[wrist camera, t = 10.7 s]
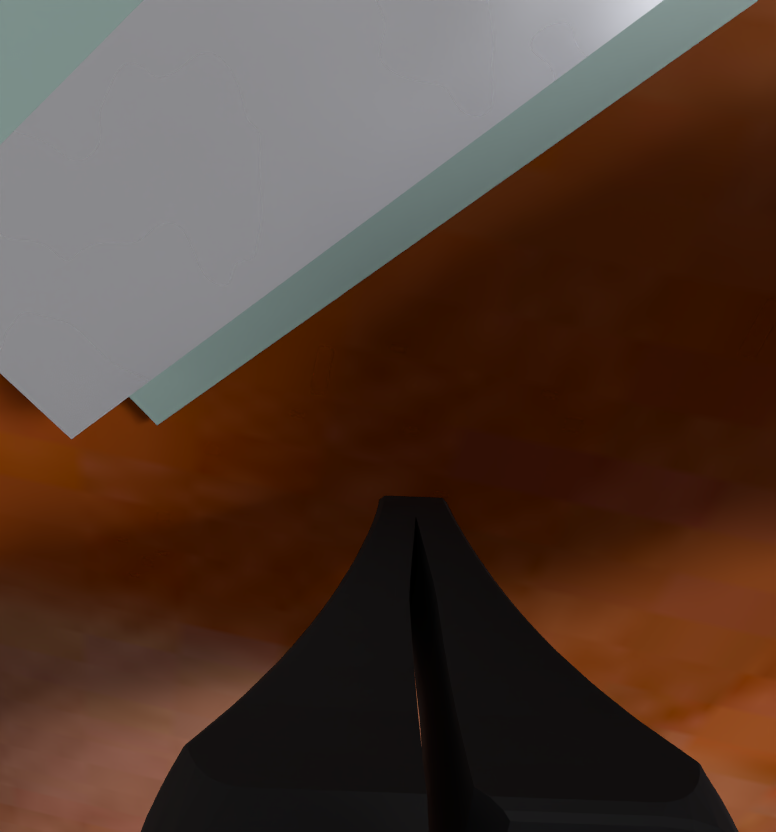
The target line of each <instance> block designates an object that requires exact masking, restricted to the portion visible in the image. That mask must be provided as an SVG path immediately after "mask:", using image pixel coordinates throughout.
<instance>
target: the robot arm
mask: <svg viewBox="0 0 776 832" xmlns="http://www.w3.org/2000/svg"><path fill="white" fill-rule="evenodd" d="M414 672H415V675H414ZM415 681H416V686H415ZM416 690H417V697H416ZM417 698H418V707H419V716H420V728H421V738H420V729H419V719H418V709H417ZM421 742H422V747H421ZM141 832H738V830H737V828H736V826H735V824H734V822H733V820H732V818H731V816H730V814H729V812H728V811H727V809H726V807H725V805H724V803H723V801H722V800H721V798H720V796H719V795H718V793H717V791H716V790H715V788H714V787H713V785H712V784H711V782H710V780H709V779H708V777H707V776H706V774H705V772H704V770H703V769H702V767H701V765H700V764H699V763H698V762H697V761H695V760H694V759H693V758H691V757H690V756H688V755H687V754H686V753H684V752H683V751H681V750H680V749H678V748H677V747H676V746H674V745H673V744H671V743H670V742H668V741H667V740H666V739H664V738H663V737H661V736H660V735H659V734H657V733H656V732H654V731H653V730H651V729H650V728H649V727H647V726H646V725H644V724H643V723H641V722H640V721H639V720H637V719H636V718H635V717H633V716H632V715H631V714H629V713H628V712H627V711H626V710H624V709H623V708H622V707H621V706H619V705H618V704H617V703H616V702H614V701H613V700H612V699H611V698H609V697H608V696H607V695H606V694H604V693H603V692H602V691H601V690H599V689H598V688H597V687H596V686H595V685H594V684H592V683H591V682H590V681H589V680H588V679H587V678H586V677H584V676H583V675H582V674H581V673H580V672H579V671H578V670H577V669H576V668H575V667H573V666H572V665H571V664H570V663H569V662H568V661H567V660H566V659H565V658H564V657H562V656H561V655H560V654H559V653H558V652H557V651H556V650H555V649H554V648H553V647H552V646H551V645H550V644H549V643H548V642H547V641H546V640H545V639H544V638H543V637H542V636H541V635H540V634H539V633H538V632H537V631H536V629H535V628H534V627H533V626H532V625H531V624H530V623H529V622H528V621H527V620H526V618H525V617H524V616H523V615H522V614H521V613H520V612H519V610H518V609H517V608H516V607H515V606H514V604H513V603H512V602H511V601H510V600H509V598H508V597H507V596H506V595H505V593H504V592H503V591H502V589H501V588H500V587H499V586H498V584H497V583H496V582H495V580H494V579H493V578H492V576H491V575H490V573H489V572H488V571H487V569H486V568H485V566H484V565H483V563H482V562H481V561H480V559H479V558H478V556H477V555H476V553H475V552H474V550H473V549H472V547H471V546H470V544H469V542H468V541H467V539H466V537H465V536H464V534H463V532H462V531H461V529H460V527H459V526H458V524H457V522H456V520H455V518H454V516H453V515H452V513H451V511H450V509H449V507H448V504H447V502H446V501H445V500H444V499H443V498H433V497H408V496H384V497H382V498H381V499H380V500H379V504H378V509H377V512H376V515H375V518H374V521H373V523H372V526H371V528H370V530H369V533H368V535H367V537H366V539H365V541H364V543H363V545H362V547H361V549H360V551H359V553H358V554H357V556H356V558H355V560H354V562H353V564H352V565H351V567H350V568H349V570H348V572H347V573H346V575H345V576H344V578H343V580H342V581H341V583H340V585H339V586H338V588H337V589H336V591H335V592H334V594H333V595H332V597H331V598H330V599H329V601H328V602H327V604H326V605H325V606H324V608H323V609H322V610H321V612H320V613H319V614H318V616H317V617H316V618H315V620H314V621H313V622H312V623H311V625H310V626H309V627H308V628H307V629H306V631H305V632H304V633H303V634H302V635H301V636H300V638H299V639H298V640H297V641H296V642H295V644H294V645H293V646H292V647H291V648H290V649H289V650H288V651H287V653H286V654H285V655H284V656H283V657H282V658H281V659H280V660H279V661H278V662H277V663H276V664H275V665H274V666H273V667H272V668H271V669H270V670H269V671H268V672H267V673H266V674H265V675H264V676H263V677H262V678H261V679H260V680H259V681H258V682H257V683H256V684H255V685H254V686H253V687H252V688H251V689H250V690H249V691H248V692H247V693H246V694H245V695H244V696H243V697H241V698H240V699H239V700H238V701H237V702H236V703H235V704H234V705H233V706H231V707H230V708H229V709H228V710H227V711H225V712H224V713H223V714H222V715H221V716H219V717H218V718H217V719H216V720H215V721H213V722H212V723H211V724H210V725H209V726H207V727H206V728H205V729H204V730H203V731H202V732H200V733H199V734H198V735H197V736H196V737H194V738H193V739H192V740H191V741H189V742H188V743H187V744H186V745H185V746H184V747H183V749H182V751H181V752H180V754H179V756H178V757H177V759H176V761H175V763H174V764H173V766H172V768H171V770H170V771H169V773H168V775H167V777H166V779H165V781H164V783H163V784H162V786H161V788H160V790H159V792H158V794H157V796H156V798H155V800H154V803H153V805H152V807H151V809H150V811H149V813H148V815H147V817H146V820H145V822H144V825H143V827H142V830H141Z"/></svg>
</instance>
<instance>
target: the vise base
mask: <svg viewBox="0 0 776 832" xmlns="http://www.w3.org/2000/svg"><path fill="white" fill-rule="evenodd" d="M142 1H143V0H0V144H1V143H2V142H3V141H4V140H5V139H6V138H7V137H8V136H9V135H10V134H11V133H12V132H13V131H14V130H15V129H16V128H17V127H18V126H19V125H20V124H21V123H22V122H23V121H24V120H25V119H26V118H27V117H28V116H29V115H30V114H31V113H32V112H33V111H34V110H35V109H36V108H37V107H38V106H39V105H40V104H41V103H42V102H43V101H44V100H45V99H46V98H47V97H48V96H49V95H50V94H51V93H52V92H53V91H54V90H55V89H56V88H57V87H58V86H59V85H60V84H61V83H62V82H63V81H64V80H65V79H66V78H67V77H68V76H69V75H70V74H71V73H72V72H73V71H74V70H75V69H76V68H77V67H78V66H79V65H80V64H81V63H82V62H83V61H84V60H85V59H86V58H87V57H88V56H89V55H90V54H91V53H92V52H93V51H94V50H95V49H96V48H97V47H98V46H99V45H100V44H101V43H102V42H103V41H104V40H105V39H106V38H107V37H108V36H109V35H110V34H111V33H112V32H113V31H114V30H115V29H116V28H117V27H118V26H119V25H120V23H121V22H122V21H123V20H124V19H125V18H126V17H127V16H128V15H129V14H130V13H131V12H132V11H133V10H134V9H135V8H136V7H137V6H138V5H139V4H140V3H141V2H142ZM757 1H758V0H663V1H662V2H661V3H659V4H658V5H657V6H655V7H654V8H653V9H651V10H650V11H649V12H647V13H646V14H644V15H643V16H642V17H640V18H639V19H638V20H636V21H635V22H634V23H632V24H631V25H630V26H628V27H627V28H626V29H624V30H623V31H622V32H620V33H619V34H617V35H616V36H615V37H613V38H612V39H611V40H609V41H608V42H607V43H605V44H604V45H603V46H601V47H600V48H599V49H597V50H596V51H595V52H593V53H592V54H590V55H589V56H588V57H586V58H585V59H584V60H582V61H581V62H580V63H578V64H577V65H576V66H574V67H573V68H572V69H570V70H569V71H568V72H566V73H565V74H564V75H562V76H561V77H559V78H558V79H557V80H555V81H554V82H553V83H551V84H550V85H549V86H547V87H546V88H545V89H543V90H542V91H541V92H539V93H538V94H537V95H535V96H534V97H532V98H531V99H530V100H528V101H527V102H526V103H524V104H523V105H522V106H520V107H519V108H518V109H516V110H515V111H514V112H512V113H511V114H510V115H508V116H507V117H505V118H504V119H503V120H501V121H500V122H499V123H497V124H496V125H495V126H493V127H492V128H491V129H489V130H488V131H487V132H485V133H484V134H483V135H481V136H480V137H478V138H477V139H476V140H474V141H473V142H472V143H470V144H469V145H468V146H466V147H465V148H464V149H462V150H461V151H460V152H458V153H457V154H456V155H454V156H453V157H452V158H450V159H449V160H447V161H446V162H445V163H443V164H442V165H441V166H439V167H438V168H437V169H435V170H434V171H433V172H431V173H430V174H429V175H427V176H426V177H425V178H423V179H422V180H420V181H419V182H418V183H416V184H415V185H414V186H412V187H411V188H410V189H408V190H407V191H406V192H404V193H403V194H402V195H400V196H399V197H398V198H396V199H395V200H393V201H392V202H391V203H389V204H388V205H387V206H385V207H384V208H383V209H381V210H380V211H379V212H377V213H376V214H375V215H373V216H372V217H371V218H369V219H368V220H367V221H365V222H364V223H362V224H361V225H360V226H358V227H357V228H356V229H354V230H353V231H352V232H350V233H349V234H348V235H346V236H345V237H344V238H342V239H341V240H340V241H338V242H337V243H335V244H334V245H333V246H331V247H330V248H329V249H327V250H326V251H325V252H323V253H322V254H321V255H319V256H318V257H317V258H315V259H314V260H313V261H311V262H310V263H308V264H307V265H306V266H304V267H303V268H302V269H300V270H299V271H298V272H296V273H295V274H294V275H292V276H291V277H290V278H288V279H287V280H286V281H284V282H283V283H281V284H280V285H279V286H277V287H276V288H275V289H273V290H272V291H271V292H269V293H268V294H267V295H265V296H264V297H263V298H261V299H260V300H259V301H257V302H256V303H255V304H253V305H252V306H250V307H249V308H248V309H246V310H245V311H244V312H242V313H241V314H240V315H238V316H237V317H236V318H234V319H233V320H232V321H230V322H229V323H228V324H226V325H225V326H223V327H222V328H221V329H219V330H218V331H217V332H215V333H214V334H213V335H211V336H210V337H209V338H207V339H206V340H205V341H203V342H202V343H201V344H199V345H198V346H196V347H195V348H194V349H192V350H191V351H190V352H188V353H187V354H186V355H184V356H183V357H182V358H180V359H179V360H178V361H176V362H175V363H174V364H172V365H171V366H170V367H168V368H167V369H165V370H164V371H163V372H161V373H160V374H159V375H157V376H156V377H155V378H153V379H152V380H151V381H149V382H148V383H147V384H145V385H144V386H143V387H141V388H140V389H138V390H137V391H136V392H134V393H133V394H132V395H130V396H129V397H130V398H131V399H132V400H133V401H134V402H135V403H136V404H137V405H138V406H139V407H140V408H141V409H142V410H143V411H144V412H145V413H146V414H147V415H148V416H149V417H150V419H151V420H152V421H153V422H154V423H155V424H156V425H158V424H160V423H161V422H163V421H164V420H165V419H167V418H168V417H170V416H171V415H172V414H174V413H175V412H177V411H178V410H180V409H181V408H182V407H184V406H185V405H187V404H188V403H189V402H191V401H192V400H194V399H195V398H196V397H198V396H199V395H201V394H202V393H204V392H205V391H206V390H208V389H209V388H211V387H212V386H213V385H215V384H216V383H218V382H219V381H221V380H222V379H223V378H225V377H226V376H228V375H229V374H230V373H232V372H233V371H235V370H236V369H237V368H239V367H240V366H242V365H243V364H245V363H246V362H247V361H249V360H250V359H252V358H253V357H254V356H256V355H257V354H259V353H260V352H262V351H263V350H264V349H266V348H267V347H269V346H270V345H271V344H273V343H274V342H276V341H277V340H279V339H280V338H281V337H283V336H284V335H286V334H287V333H288V332H290V331H291V330H293V329H294V328H295V327H297V326H298V325H300V324H301V323H303V322H304V321H305V320H307V319H308V318H310V317H311V316H312V315H314V314H315V313H317V312H318V311H320V310H321V309H322V308H324V307H325V306H327V305H328V304H329V303H331V302H332V301H334V300H335V299H336V298H338V297H339V296H341V295H342V294H344V293H345V292H346V291H348V290H349V289H351V288H352V287H353V286H355V285H356V284H358V283H359V282H361V281H362V280H363V279H365V278H366V277H368V276H369V275H370V274H372V273H373V272H375V271H376V270H377V269H379V268H380V267H382V266H383V265H385V264H386V263H387V262H389V261H390V260H392V259H393V258H394V257H396V256H397V255H399V254H400V253H402V252H403V251H404V250H406V249H407V248H409V247H410V246H411V245H413V244H414V243H416V242H417V241H419V240H420V239H421V238H423V237H424V236H426V235H427V234H428V233H430V232H431V231H433V230H434V229H435V228H437V227H438V226H440V225H441V224H443V223H444V222H445V221H447V220H448V219H450V218H451V217H452V216H454V215H455V214H457V213H458V212H460V211H461V210H462V209H464V208H465V207H467V206H468V205H469V204H471V203H472V202H474V201H475V200H476V199H478V198H479V197H481V196H482V195H484V194H485V193H486V192H488V191H489V190H491V189H492V188H493V187H495V186H496V185H498V184H499V183H501V182H502V181H503V180H505V179H506V178H508V177H509V176H510V175H512V174H513V173H515V172H516V171H518V170H519V169H520V168H522V167H523V166H525V165H526V164H527V163H529V162H530V161H532V160H533V159H534V158H536V157H537V156H539V155H540V154H542V153H543V152H544V151H546V150H547V149H549V148H550V147H551V146H553V145H554V144H556V143H557V142H559V141H560V140H561V139H563V138H564V137H566V136H567V135H568V134H570V133H571V132H573V131H574V130H575V129H577V128H578V127H580V126H581V125H583V124H584V123H585V122H587V121H588V120H590V119H591V118H592V117H594V116H595V115H597V114H598V113H600V112H601V111H602V110H604V109H605V108H607V107H608V106H609V105H611V104H612V103H614V102H615V101H616V100H618V99H619V98H621V97H622V96H624V95H625V94H626V93H628V92H629V91H631V90H632V89H633V88H635V87H636V86H638V85H639V84H641V83H642V82H643V81H645V80H646V79H648V78H649V77H650V76H652V75H653V74H655V73H656V72H658V71H659V70H660V69H662V68H663V67H665V66H666V65H667V64H669V63H670V62H672V61H673V60H674V59H676V58H677V57H679V56H680V55H682V54H683V53H684V52H686V51H687V50H689V49H690V48H691V47H693V46H694V45H696V44H697V43H699V42H700V41H701V40H703V39H704V38H706V37H707V36H708V35H710V34H711V33H713V32H714V31H715V30H717V29H718V28H720V27H721V26H723V25H724V24H725V23H727V22H728V21H730V20H731V19H732V18H734V17H735V16H737V15H738V14H740V13H741V12H742V11H744V10H745V9H747V8H748V7H749V6H751V5H752V4H754V3H755V2H757Z"/></svg>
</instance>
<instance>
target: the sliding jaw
mask: <svg viewBox="0 0 776 832" xmlns="http://www.w3.org/2000/svg"><path fill="white" fill-rule="evenodd" d="M662 1H663V0H143V1H142V2H141V3H140V4H139V5H138V6H137V7H136V8H135V9H134V10H133V11H132V12H131V13H130V14H129V15H128V16H127V17H126V18H125V19H124V20H123V21H122V22H121V23H120V25H119V26H118V27H117V28H116V29H115V30H114V31H113V32H112V33H111V34H110V35H109V36H108V37H107V38H106V39H105V40H104V41H103V42H102V43H101V44H100V45H99V46H98V47H97V48H96V49H95V50H94V51H93V52H92V53H91V54H90V55H89V56H88V57H87V58H86V59H85V60H84V61H83V62H82V63H81V64H80V65H79V66H78V67H77V68H76V69H75V70H74V71H73V72H72V73H71V74H70V75H69V76H68V77H67V78H66V79H65V80H64V81H63V82H62V83H61V84H60V85H59V86H58V87H57V88H56V89H55V90H54V91H53V92H52V93H51V94H50V95H49V96H48V97H47V98H46V99H45V100H44V101H43V102H42V103H41V104H40V105H39V106H38V107H37V108H36V109H35V110H34V111H33V112H32V113H31V114H30V115H29V116H28V117H27V118H26V119H25V120H24V121H23V122H22V123H21V124H20V125H19V126H18V127H17V128H16V129H15V130H14V131H13V132H12V133H11V134H10V135H9V136H8V137H7V138H6V139H5V140H4V141H3V142H2V143H1V144H0V374H2V375H3V376H4V377H5V378H6V379H7V380H8V381H9V382H10V383H11V384H12V385H13V386H15V387H16V388H17V389H18V390H19V391H20V392H21V393H22V394H23V395H24V396H25V397H26V398H27V399H29V400H30V401H31V402H32V403H33V404H34V405H35V406H36V407H37V408H38V409H39V410H40V411H42V412H43V413H44V414H45V415H46V416H47V417H48V418H49V419H50V420H51V421H52V422H53V423H55V424H56V425H57V426H58V427H59V428H60V429H61V430H62V431H63V432H64V433H65V434H66V435H67V436H69V437H70V438H71V439H72V438H74V437H75V436H76V435H78V434H79V433H80V432H82V431H83V430H84V429H86V428H87V427H89V426H90V425H91V424H93V423H94V422H95V421H97V420H98V419H99V418H101V417H102V416H103V415H105V414H106V413H107V412H109V411H110V410H111V409H113V408H114V407H116V406H117V405H118V404H120V403H121V402H122V401H124V400H125V399H126V398H128V397H129V396H130V395H132V394H133V393H134V392H136V391H137V390H138V389H140V388H141V387H143V386H144V385H145V384H147V383H148V382H149V381H151V380H152V379H153V378H155V377H156V376H157V375H159V374H160V373H161V372H163V371H164V370H165V369H167V368H168V367H170V366H171V365H172V364H174V363H175V362H176V361H178V360H179V359H180V358H182V357H183V356H184V355H186V354H187V353H188V352H190V351H191V350H192V349H194V348H195V347H196V346H198V345H199V344H201V343H202V342H203V341H205V340H206V339H207V338H209V337H210V336H211V335H213V334H214V333H215V332H217V331H218V330H219V329H221V328H222V327H223V326H225V325H226V324H228V323H229V322H230V321H232V320H233V319H234V318H236V317H237V316H238V315H240V314H241V313H242V312H244V311H245V310H246V309H248V308H249V307H250V306H252V305H253V304H255V303H256V302H257V301H259V300H260V299H261V298H263V297H264V296H265V295H267V294H268V293H269V292H271V291H272V290H273V289H275V288H276V287H277V286H279V285H280V284H281V283H283V282H284V281H286V280H287V279H288V278H290V277H291V276H292V275H294V274H295V273H296V272H298V271H299V270H300V269H302V268H303V267H304V266H306V265H307V264H308V263H310V262H311V261H313V260H314V259H315V258H317V257H318V256H319V255H321V254H322V253H323V252H325V251H326V250H327V249H329V248H330V247H331V246H333V245H334V244H335V243H337V242H338V241H340V240H341V239H342V238H344V237H345V236H346V235H348V234H349V233H350V232H352V231H353V230H354V229H356V228H357V227H358V226H360V225H361V224H362V223H364V222H365V221H367V220H368V219H369V218H371V217H372V216H373V215H375V214H376V213H377V212H379V211H380V210H381V209H383V208H384V207H385V206H387V205H388V204H389V203H391V202H392V201H393V200H395V199H396V198H398V197H399V196H400V195H402V194H403V193H404V192H406V191H407V190H408V189H410V188H411V187H412V186H414V185H415V184H416V183H418V182H419V181H420V180H422V179H423V178H425V177H426V176H427V175H429V174H430V173H431V172H433V171H434V170H435V169H437V168H438V167H439V166H441V165H442V164H443V163H445V162H446V161H447V160H449V159H450V158H452V157H453V156H454V155H456V154H457V153H458V152H460V151H461V150H462V149H464V148H465V147H466V146H468V145H469V144H470V143H472V142H473V141H474V140H476V139H477V138H478V137H480V136H481V135H483V134H484V133H485V132H487V131H488V130H489V129H491V128H492V127H493V126H495V125H496V124H497V123H499V122H500V121H501V120H503V119H504V118H505V117H507V116H508V115H510V114H511V113H512V112H514V111H515V110H516V109H518V108H519V107H520V106H522V105H523V104H524V103H526V102H527V101H528V100H530V99H531V98H532V97H534V96H535V95H537V94H538V93H539V92H541V91H542V90H543V89H545V88H546V87H547V86H549V85H550V84H551V83H553V82H554V81H555V80H557V79H558V78H559V77H561V76H562V75H564V74H565V73H566V72H568V71H569V70H570V69H572V68H573V67H574V66H576V65H577V64H578V63H580V62H581V61H582V60H584V59H585V58H586V57H588V56H589V55H590V54H592V53H593V52H595V51H596V50H597V49H599V48H600V47H601V46H603V45H604V44H605V43H607V42H608V41H609V40H611V39H612V38H613V37H615V36H616V35H617V34H619V33H620V32H622V31H623V30H624V29H626V28H627V27H628V26H630V25H631V24H632V23H634V22H635V21H636V20H638V19H639V18H640V17H642V16H643V15H644V14H646V13H647V12H649V11H650V10H651V9H653V8H654V7H655V6H657V5H658V4H659V3H661V2H662Z"/></svg>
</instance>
